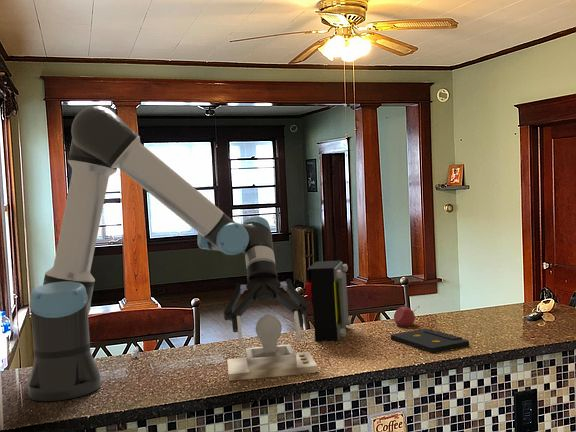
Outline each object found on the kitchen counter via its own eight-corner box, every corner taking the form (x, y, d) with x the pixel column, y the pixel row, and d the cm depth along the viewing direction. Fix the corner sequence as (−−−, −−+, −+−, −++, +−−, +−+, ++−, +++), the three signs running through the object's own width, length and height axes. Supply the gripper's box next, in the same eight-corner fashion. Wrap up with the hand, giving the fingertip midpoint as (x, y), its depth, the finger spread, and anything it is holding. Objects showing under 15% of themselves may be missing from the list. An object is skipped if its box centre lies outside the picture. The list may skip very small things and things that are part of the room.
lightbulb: (287, 358, 143) (283, 312, 143) (279, 366, 137) (276, 318, 137) (262, 358, 145) (259, 313, 145) (254, 365, 139) (250, 318, 139)
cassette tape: (469, 348, 151) (469, 339, 151) (432, 355, 146) (432, 346, 146) (425, 335, 167) (425, 327, 167) (390, 341, 163) (390, 333, 162)
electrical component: (345, 341, 164) (341, 267, 163) (308, 341, 166) (303, 269, 165) (351, 326, 181) (347, 260, 180) (318, 327, 183) (314, 261, 182)
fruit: (415, 333, 176) (425, 308, 178) (400, 325, 175) (410, 300, 176) (403, 329, 182) (413, 305, 183) (389, 322, 180) (399, 297, 181)
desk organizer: (228, 380, 134) (227, 363, 133) (227, 365, 146) (226, 348, 146) (317, 372, 136) (316, 354, 136) (309, 357, 149) (308, 341, 149)
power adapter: (141, 359, 159) (140, 347, 159) (131, 361, 158) (130, 349, 158) (138, 356, 162) (137, 345, 162) (128, 358, 161) (128, 346, 161)
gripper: (308, 273, 157) (322, 344, 143) (212, 281, 154) (216, 353, 140) (310, 255, 152) (324, 326, 137) (210, 262, 149) (214, 336, 134)
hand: (270, 340), depth 139 cm, fingers open, 13 cm apart
